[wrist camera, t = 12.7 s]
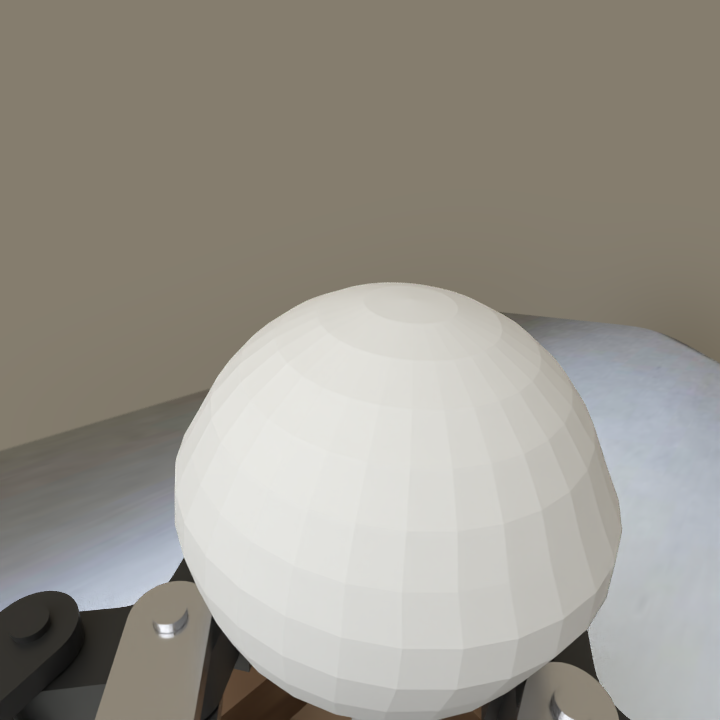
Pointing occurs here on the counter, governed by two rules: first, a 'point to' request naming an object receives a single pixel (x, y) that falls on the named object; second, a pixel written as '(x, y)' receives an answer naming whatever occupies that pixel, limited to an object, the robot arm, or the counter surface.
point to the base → (279, 702)
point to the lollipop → (396, 503)
